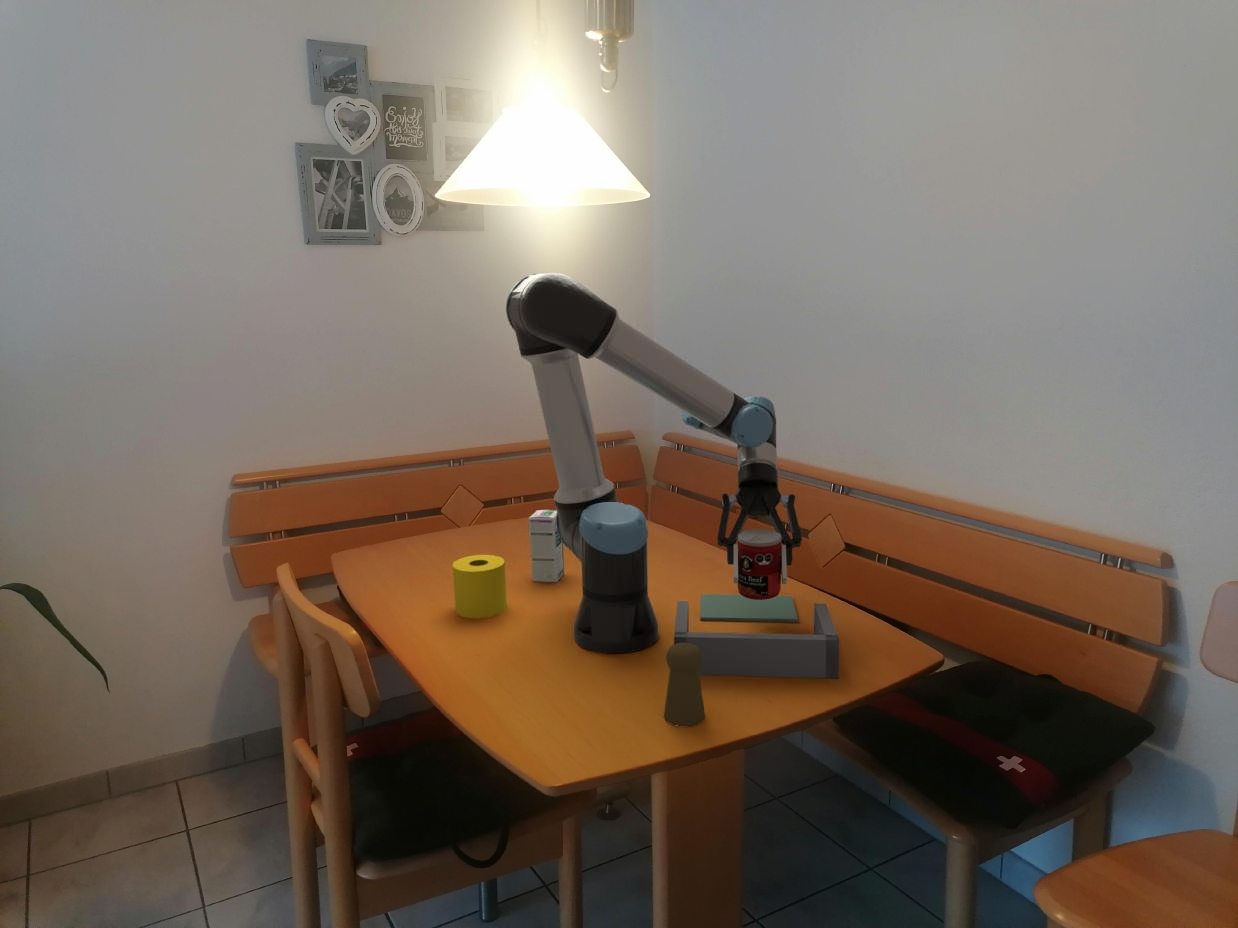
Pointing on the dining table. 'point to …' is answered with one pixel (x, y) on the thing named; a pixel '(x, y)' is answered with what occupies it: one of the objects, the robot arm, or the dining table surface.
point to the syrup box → (545, 547)
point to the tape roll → (479, 586)
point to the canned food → (759, 564)
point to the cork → (684, 686)
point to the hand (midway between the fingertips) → (760, 580)
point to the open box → (765, 649)
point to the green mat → (747, 608)
